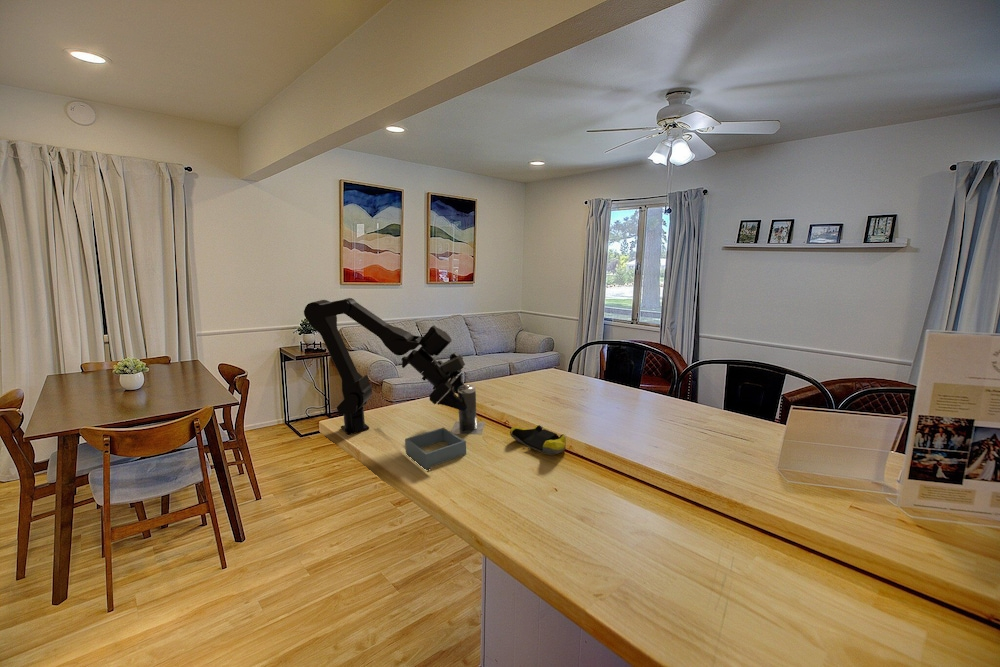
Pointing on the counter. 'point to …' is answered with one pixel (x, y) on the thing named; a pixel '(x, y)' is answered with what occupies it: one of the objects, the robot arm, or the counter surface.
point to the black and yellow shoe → (540, 439)
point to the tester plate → (478, 430)
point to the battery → (467, 407)
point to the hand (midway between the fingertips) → (468, 403)
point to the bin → (437, 456)
